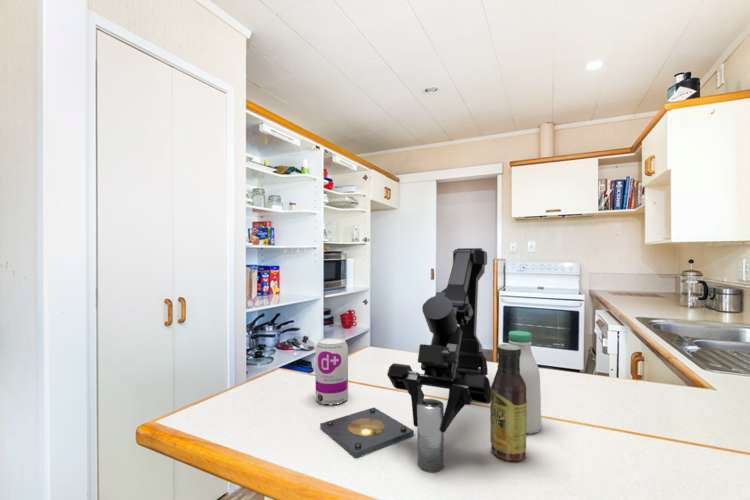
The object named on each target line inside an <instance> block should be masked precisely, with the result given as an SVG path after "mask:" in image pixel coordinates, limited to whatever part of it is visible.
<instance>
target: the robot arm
mask: <svg viewBox="0 0 750 500" xmlns="http://www.w3.org/2000/svg"><path fill="white" fill-rule="evenodd" d="M487 264H488V253H487V251H485V250H483V247H480V248H479V247H468V248H467V247H465V248H463V247H461V248H456V249H454V250H453V251H452V267H451V271H450V274H449V279H448V282H447V285H446V287H445V288H444V289H443V290H442V291H438V292H437V291H436V292H435V296H431V297H430V298H428V299H426V301H425V302H423V304H422V314H423V316H424V320H425V321H426V325H427V326H428V329H429V332H430V333H432V338H431V342H430V344H425V343H423V344H422V343H421V344H419V348H418V355H417V356H418V357H417V363H419V364H420V369H421V371H423V372H424V373H419V372H417V371H413V369H412V367H411V365H409V364H402V363H392V364H391V365H390V366H389V367H388V369H387V373H386V375H387V378H389V381H390V382H391V384H392V387H394V388H395V389H397V390H402V391H407V393H408V394H409V395H410V400H411V410H412V419H413V420H412V423H413V426H414V427H415V428H417V402H418V401H419V400H422V399H425V394H424V392H423V389H422V388H423V386H427V387H435V388H439V389H447V390H449V391H448V399H447V402H446V406H445V408H444V417H443V421H442V429H441V430H442V432H443V433H444V434H445V433H446V431H447V429H448V428H449V426H450V425H451V423H452V422H453V420H454V419H455V418H456V416H457V415H458V413H459V412H460V411H461V410H462V409H463V408H464V407H465V406H470V405H471V402H475V403H481V404H486V405H488V404H491V383H490V379H489V378H488V377H487V376H488V375H489V373H488V371H489V370H488V362H487V358H486V356H485V352H483V346H482V343H481V341H480V340H479V338H478V336H477V322H478V298H479V281H480V280H481V278H482V277H483V276H484V274H485V271H486V270H485V269H486V265H487ZM487 266H488V265H487Z"/></svg>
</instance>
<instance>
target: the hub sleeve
mask: <svg viewBox="0 0 750 500" xmlns="http://www.w3.org/2000/svg"><path fill="white" fill-rule="evenodd" d="M444 413H445V408H444V403H443V402H442V401H440V400H439V399H435V398H424V399H422V400H419V401H418V402H417V427H416V428H417V429H416V432H417V433H416V434H417V435H416V436H417V437H416V439H417V440H416V445H417V446H416V447H417V448H416V449H417V450H416V451H417V453H416V454H417V459H416V461H417V462H416V463H417V467H418V468H419V469H420V470H422V471H424V472H426V473H438V472H441V471H442V470H443V469H444V468H445V447H444V446H445V438H444V437H445V433H443V432H442V430H441V429H442V421H443V417H444Z"/></svg>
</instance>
